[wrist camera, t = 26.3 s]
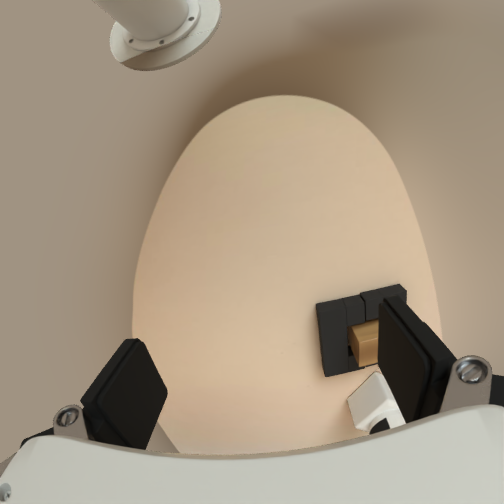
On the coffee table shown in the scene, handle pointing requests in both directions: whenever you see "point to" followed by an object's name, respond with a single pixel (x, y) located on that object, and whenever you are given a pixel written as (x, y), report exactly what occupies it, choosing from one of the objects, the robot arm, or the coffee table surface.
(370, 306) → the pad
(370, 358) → the key
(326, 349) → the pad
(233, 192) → the coffee table surface
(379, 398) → the medicine bottle
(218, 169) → the coffee table surface
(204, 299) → the coffee table surface
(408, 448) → the robot arm
